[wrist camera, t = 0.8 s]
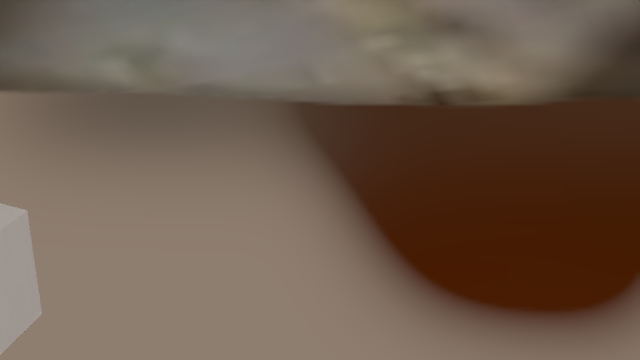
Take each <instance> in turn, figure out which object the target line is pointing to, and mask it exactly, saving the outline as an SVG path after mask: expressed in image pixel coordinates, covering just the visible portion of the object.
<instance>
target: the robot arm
mask: <svg viewBox="0 0 640 360" xmlns="http://www.w3.org/2000/svg"><path fill="white" fill-rule="evenodd" d="M41 315H42V311H41V304H40V297H39V290H38V283H37V276H36V269H35V263H34V255H33V249H32V241H31V235H30V228H29V221H28V214H27V211H26V210H23V209H19V208H15V207H12V206H8V205H4V204H0V355H1V354H2V353H3V352H4V351H5V350H6V349H7V348H8V347H9V346H10V345H11V344H12V343H13V342H14V341H15V340H16V339H17V338H18V337H19V336H20V335H21V334H22V333H23V332H24V331H25V330H26V329H27V328H28V327H29V326H30V325H31V324H32V323H33V322H34V321H35V320H36V319H37V318H38V317H39V316H41Z"/></svg>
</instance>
